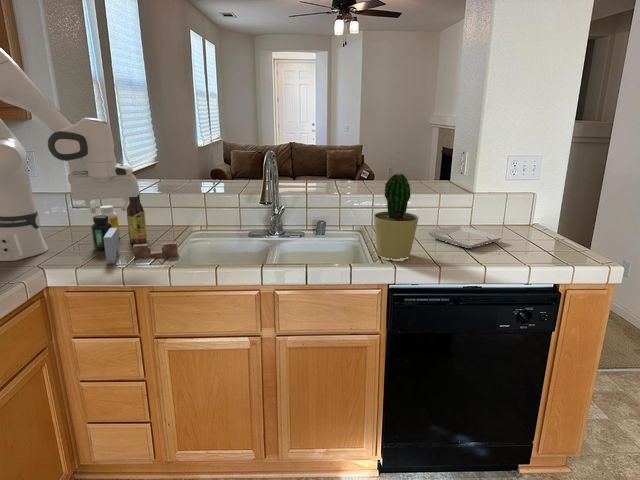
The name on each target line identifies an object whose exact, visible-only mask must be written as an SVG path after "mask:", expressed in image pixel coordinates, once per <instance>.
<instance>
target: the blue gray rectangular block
mask: <svg viewBox="0 0 640 480" xmlns="http://www.w3.org/2000/svg"><path fill="white" fill-rule="evenodd" d="M103 239H104V246H105V251H104V252H105V260H106V265H107V264H108V265H109V264H115V263H117V260H118V259H117V256H120V254H121V245H120V237H118V229H117V228H110V229H109V230H108V232H107V233H106V234H105V236H104V237H103Z"/></svg>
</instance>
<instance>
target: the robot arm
mask: <svg viewBox="0 0 640 480" xmlns="http://www.w3.org/2000/svg"><path fill="white" fill-rule="evenodd" d="M0 101H1V102H3V103H6V104H9V105H11V106H16V107H18V108H21V109H24V110H25V111H27V112H29V113H31V114H32V115H34V116H35V117H36V118H37V119H38V120H40V121H41V123H42V124H43V125H44V126H46V127H47V129H48V130H49V131H51V132H52V134H51V135H50V136H49V137H48V139H47V148H48V151H49V152H50V153H51V155H52V156H53V157H54V158H56V159H57V160H60V161H63V162H73V161H76V160H80V159H84V160H85V166H86V170H80V171H79V170H74V171H71V172H70V173H69V174H68V175H67V179H68V180H67V181H68V183H69V185H70V196H71V199H73V200H74V201H84V204H85V205H86V206H87V207H88V208H89V211H90V213H91V214H95V213H97V207H96V206H93V205H92V204H91V202H92V200H104V199H105V200H107V199H118V198H119V199H122V198H123V201H124V204H122V205H120V208H121V209H120V210H121V212H127V207H128V203H129V197H137V196H138V195H139V193H140V194H141V191H140V187H139V183H138V179H137V177H136V176H135V174H133V172H134V171H133V167H132V166H130V165H127V164H123V163H122V164H121V163H117V162H118V161H117V159H116V156H115V151H114V150H115V143H114V138H113V137H114V136H113V134H112V133H113V132H112V130H111V126H110V124H109V123H108V122H107V121H106V120H104V119H99V118H92V117H82V118H81V119H80V120H79V121H78V122H76V123H73V122H72V121H70V120H69V119H68V118H67V117H66V115H64V114H63V113H62V112H61V111H60V110H59V109H58V108H57V106H55V105H54V104H53V103H52V102H51V101H50V100H49V99H47V97H46V96H45V95H44V94H43V93H42V92H41V90H40V89H39V88H38V87H37V86H36V85H35V84H34V82H33V81H32V80H31V79H30V78H29V76H28V75H27V74H26V73H25V72H24V70H23V69H22V68H21V67H20V66H19V65H18V64H17V62H16V61H14V60H13V58H12V57H10V55H9V54H7V53H6V51H5V50H3V49H2V48H1V47H0ZM40 227H41V221H40V216H39V214H38V211H37V209H36V205H35V199H34V194H33V187H32V183H31V179H30V175H29V169H28V164H27V152H26V149H25V147H24V146H23V144H21V142H20V141H19V140H18V138H17V137H16V136H15V135H14V133H13V132H12V131H11V129H10V128H9V127H8V126H7V125H6V123H4V121H3V120H2V119H1V118H0V262H8V261H10V262H11V261H12V262H14V261H15V262H16V261H20V260H23V259H25V258H30V257H34V256H38V255H41V254H43V253H46V252H47V251H48V250H49V247H48V246H47V243H46V241H45V239H44V237H43V234H42V231H41V229H40Z"/></svg>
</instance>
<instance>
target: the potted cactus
mask: <svg viewBox="0 0 640 480" xmlns="http://www.w3.org/2000/svg"><path fill="white" fill-rule="evenodd" d="M383 184H384V190H383V192H384V193H383V195H382V196H384V201H386V204H385V207H386V208H387V210H385V211H380V212H376V213H374V214H373V220H374V222H373V223H374V230H375V244H376V253H377V254H378V255H380V256H382V257H385V258H392V259H400V258H406V257H409V256H411V252H412V247H413V243H414V239H415V235H416V231H417V227H418V223H419V216H418V215H417V214H413V213H411V212H408V211H407V209H408V204H409V202H410V200H411V196H412V195H411V193H412V191H411V190H412V189H413V188H411V183H410V182H409V180H408V178H407V176H406V175H405V174H403V173H399V174H397V173H395V174H393V175H392V174H390V177H389V178H388V180H386V182H383ZM377 254H376V255H377ZM378 255H377V256H378ZM409 258H410V257H409Z"/></svg>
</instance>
